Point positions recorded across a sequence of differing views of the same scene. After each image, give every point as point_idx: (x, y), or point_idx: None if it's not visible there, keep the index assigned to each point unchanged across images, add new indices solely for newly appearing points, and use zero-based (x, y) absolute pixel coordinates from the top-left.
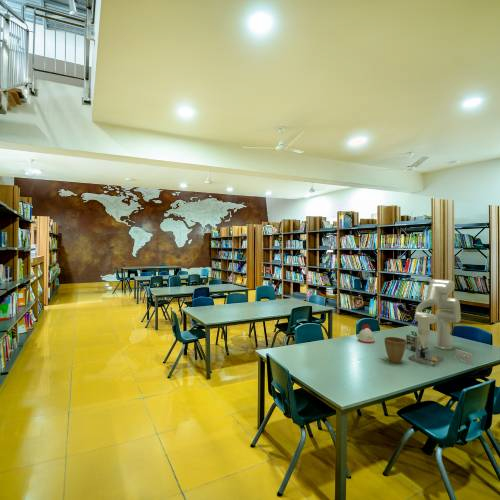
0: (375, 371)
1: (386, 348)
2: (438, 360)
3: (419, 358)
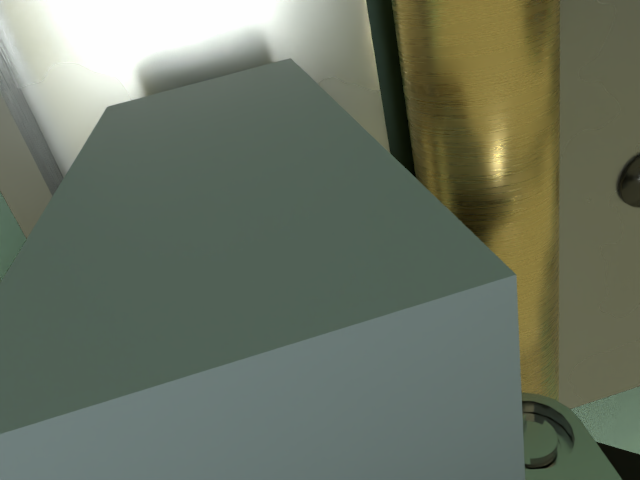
0: None
1: None
2: (560, 402)
3: (324, 75)
